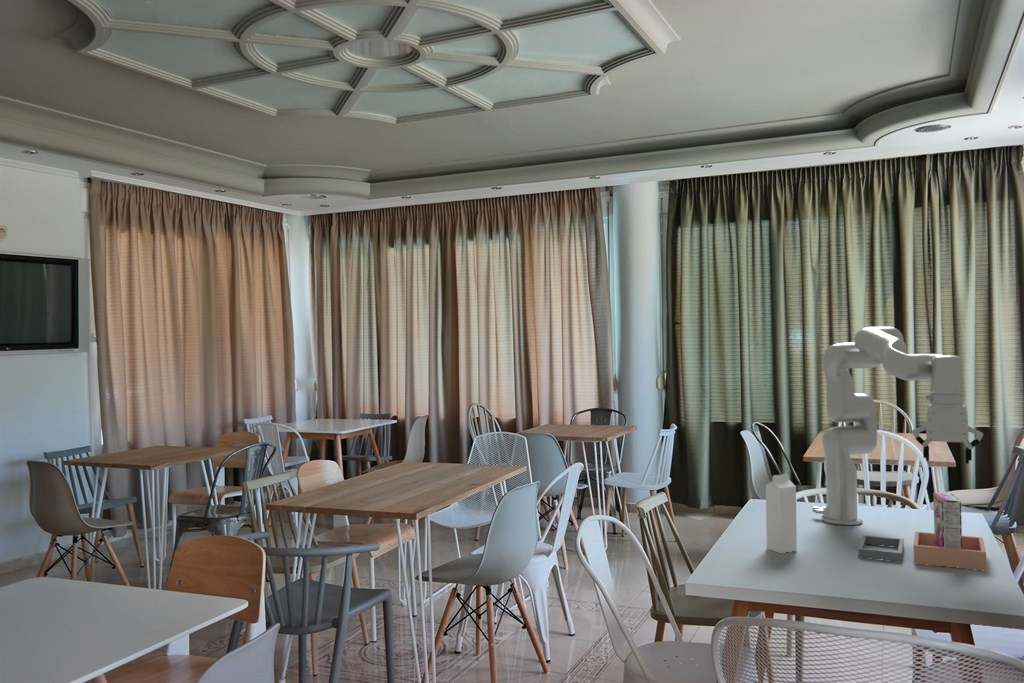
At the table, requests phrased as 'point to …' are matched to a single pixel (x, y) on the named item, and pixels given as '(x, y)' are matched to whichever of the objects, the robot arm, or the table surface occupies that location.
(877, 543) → the tray
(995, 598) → the table surface
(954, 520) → the candy bar box
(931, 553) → the salmon hollow open box
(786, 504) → the milk
